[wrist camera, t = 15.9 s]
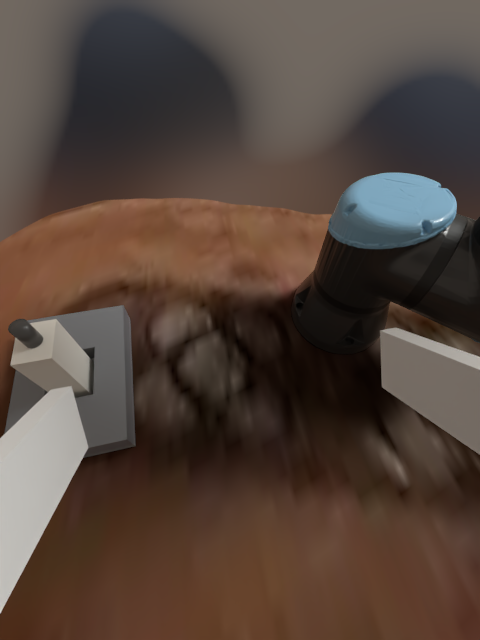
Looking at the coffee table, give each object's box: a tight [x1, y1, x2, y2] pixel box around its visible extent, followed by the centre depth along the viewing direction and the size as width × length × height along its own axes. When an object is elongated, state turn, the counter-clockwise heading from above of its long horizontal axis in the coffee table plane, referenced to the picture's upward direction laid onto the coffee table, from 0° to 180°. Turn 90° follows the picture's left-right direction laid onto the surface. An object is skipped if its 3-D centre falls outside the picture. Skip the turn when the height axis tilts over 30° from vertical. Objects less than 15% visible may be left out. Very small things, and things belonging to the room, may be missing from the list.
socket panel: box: [4, 305, 136, 458], centre depth 42 cm, size 14×20×4 cm
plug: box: [8, 319, 94, 398], centre depth 37 cm, size 4×5×15 cm
